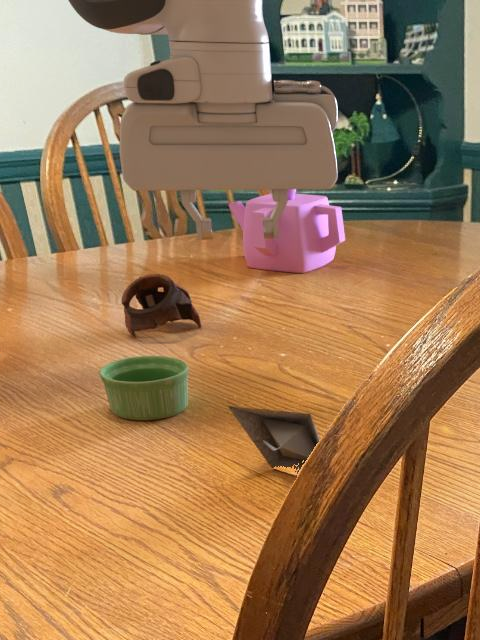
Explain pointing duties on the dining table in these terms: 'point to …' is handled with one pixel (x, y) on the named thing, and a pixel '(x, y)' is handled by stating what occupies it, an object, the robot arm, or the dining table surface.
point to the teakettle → (290, 232)
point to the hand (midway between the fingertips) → (238, 238)
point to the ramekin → (146, 387)
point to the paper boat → (279, 434)
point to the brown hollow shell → (157, 303)
